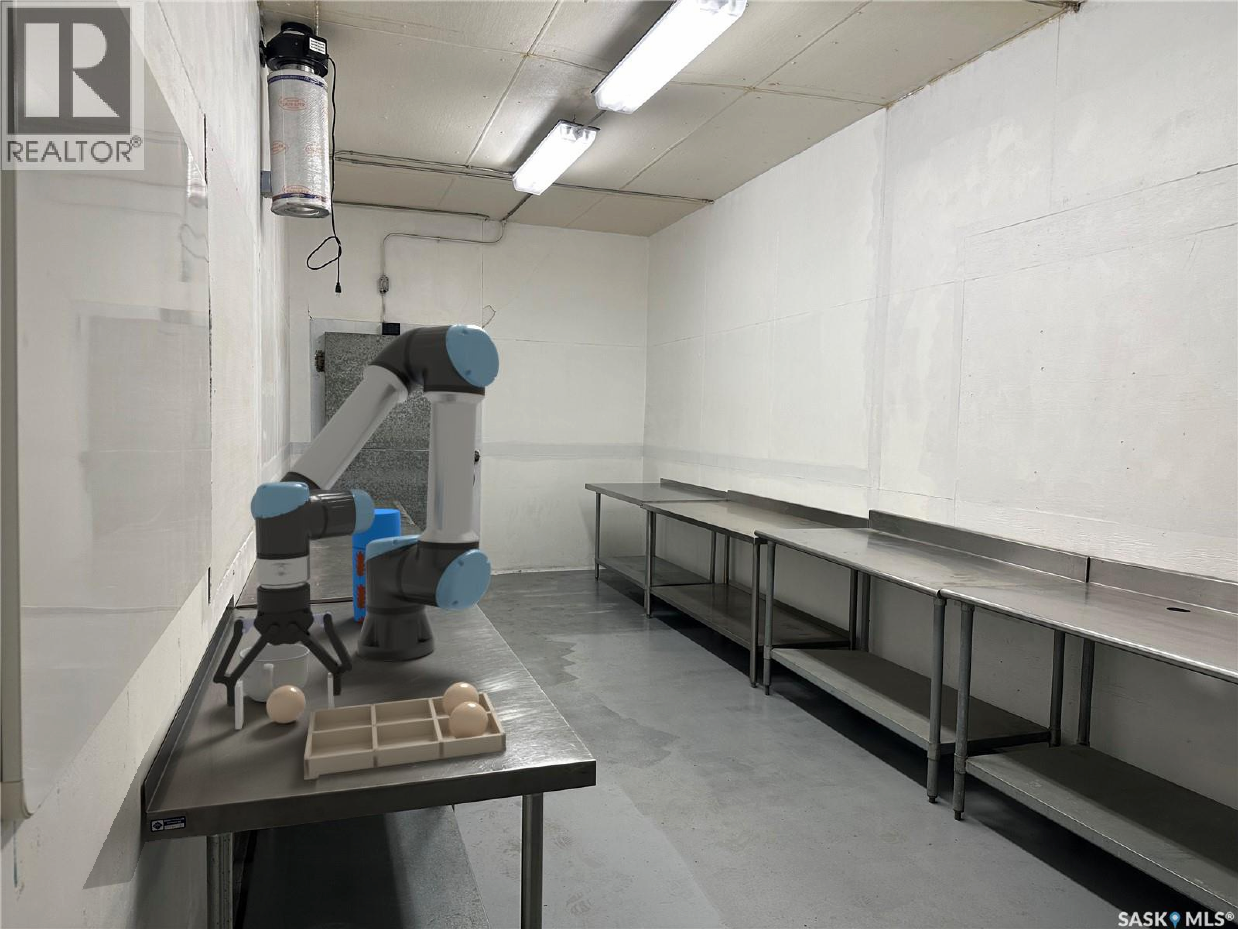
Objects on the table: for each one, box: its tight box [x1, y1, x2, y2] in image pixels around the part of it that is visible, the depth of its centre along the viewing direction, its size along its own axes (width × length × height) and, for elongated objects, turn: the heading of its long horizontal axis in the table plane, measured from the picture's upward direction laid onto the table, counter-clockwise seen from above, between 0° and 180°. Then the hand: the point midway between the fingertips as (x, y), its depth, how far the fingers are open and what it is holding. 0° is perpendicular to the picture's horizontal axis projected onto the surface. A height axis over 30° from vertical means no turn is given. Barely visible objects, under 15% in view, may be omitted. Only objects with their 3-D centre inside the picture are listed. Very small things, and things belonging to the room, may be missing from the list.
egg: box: [265, 685, 306, 724], centre depth 120 cm, size 6×6×6 cm
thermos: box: [351, 508, 402, 623], centre depth 181 cm, size 11×11×25 cm
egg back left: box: [442, 681, 479, 716], centre depth 120 cm, size 6×6×6 cm
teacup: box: [238, 643, 311, 703], centre depth 129 cm, size 14×11×8 cm
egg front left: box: [449, 702, 488, 739], centre depth 112 cm, size 6×6×6 cm
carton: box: [303, 691, 507, 781], centre depth 113 cm, size 18×26×3 cm
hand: (286, 721), depth 120 cm, fingers open, 12 cm apart
